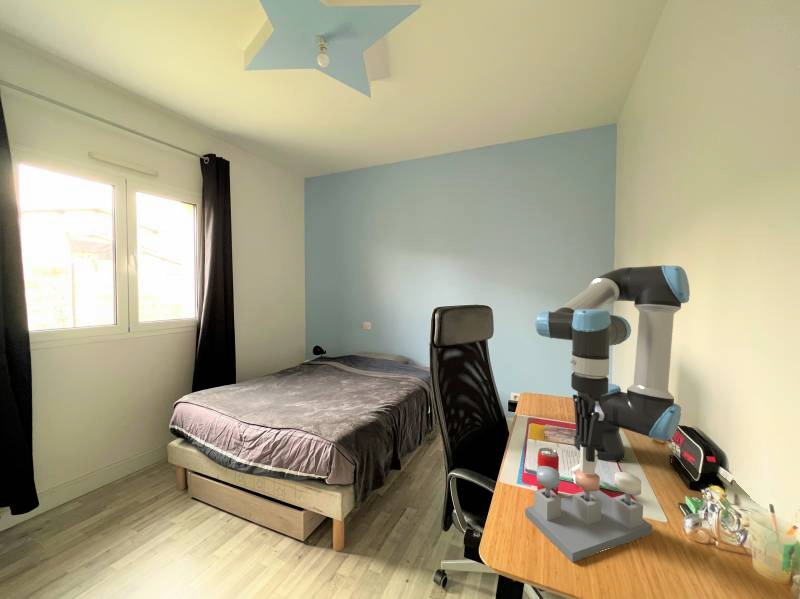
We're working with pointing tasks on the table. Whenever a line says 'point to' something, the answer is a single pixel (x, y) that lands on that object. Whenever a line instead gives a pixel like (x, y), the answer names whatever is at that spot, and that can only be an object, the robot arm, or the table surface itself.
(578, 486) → the figurine
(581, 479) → the terracotta button
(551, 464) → the beverage can
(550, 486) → the blue-grey rounded knob
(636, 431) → the robot arm
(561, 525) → the button board
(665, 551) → the table surface
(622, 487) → the ivory button
